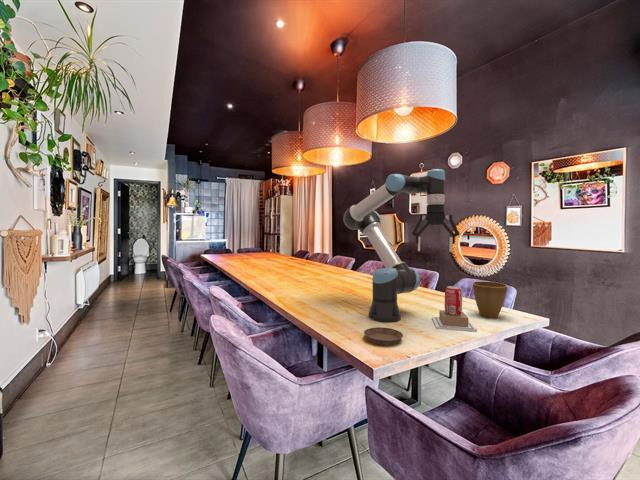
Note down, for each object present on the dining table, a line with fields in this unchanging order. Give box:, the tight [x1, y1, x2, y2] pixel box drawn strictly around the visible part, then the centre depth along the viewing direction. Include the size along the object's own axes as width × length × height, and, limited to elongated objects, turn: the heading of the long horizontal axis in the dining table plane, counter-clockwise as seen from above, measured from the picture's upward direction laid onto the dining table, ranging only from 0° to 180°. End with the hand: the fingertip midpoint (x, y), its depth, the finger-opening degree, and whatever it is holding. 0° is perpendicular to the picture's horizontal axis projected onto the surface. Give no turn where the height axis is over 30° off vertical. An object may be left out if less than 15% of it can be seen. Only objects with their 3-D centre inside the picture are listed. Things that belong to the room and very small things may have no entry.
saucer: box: [363, 327, 404, 346], centre depth 114 cm, size 15×15×3 cm
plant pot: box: [472, 280, 508, 319], centre depth 145 cm, size 15×15×16 cm
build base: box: [431, 309, 478, 333], centre depth 132 cm, size 16×14×5 cm
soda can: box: [444, 285, 463, 316], centre depth 131 cm, size 7×7×12 cm
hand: (434, 251), depth 134 cm, fingers open, 13 cm apart
